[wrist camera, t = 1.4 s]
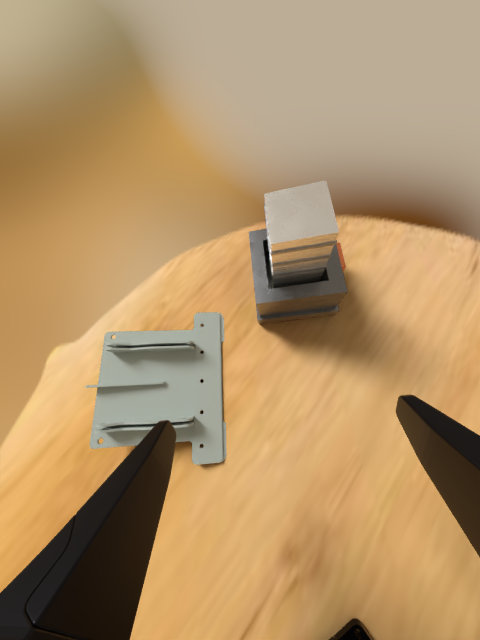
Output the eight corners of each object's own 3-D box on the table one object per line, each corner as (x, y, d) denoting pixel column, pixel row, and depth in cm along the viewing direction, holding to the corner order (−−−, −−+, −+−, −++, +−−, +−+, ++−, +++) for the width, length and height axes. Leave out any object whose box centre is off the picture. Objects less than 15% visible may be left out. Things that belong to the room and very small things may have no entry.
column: (316, 293, 21) (342, 233, 12) (273, 299, 21) (268, 246, 13) (309, 256, 22) (328, 177, 13) (268, 262, 23) (261, 192, 14)
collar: (337, 314, 22) (355, 294, 17) (259, 323, 23) (252, 307, 18) (323, 248, 24) (334, 212, 19) (252, 260, 25) (245, 229, 20)
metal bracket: (61, 484, 17) (89, 308, 21) (99, 459, 22) (116, 324, 27) (238, 467, 18) (231, 307, 23) (233, 447, 24) (229, 322, 28)
